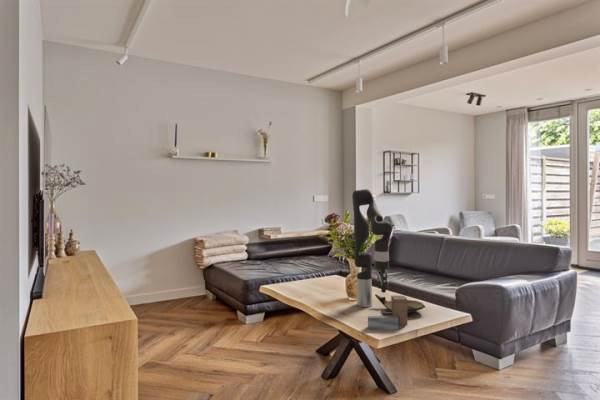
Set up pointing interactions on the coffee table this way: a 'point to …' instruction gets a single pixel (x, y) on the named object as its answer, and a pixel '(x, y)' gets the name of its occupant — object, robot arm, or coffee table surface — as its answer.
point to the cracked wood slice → (411, 304)
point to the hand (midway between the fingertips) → (381, 290)
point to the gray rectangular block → (383, 322)
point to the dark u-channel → (398, 308)
